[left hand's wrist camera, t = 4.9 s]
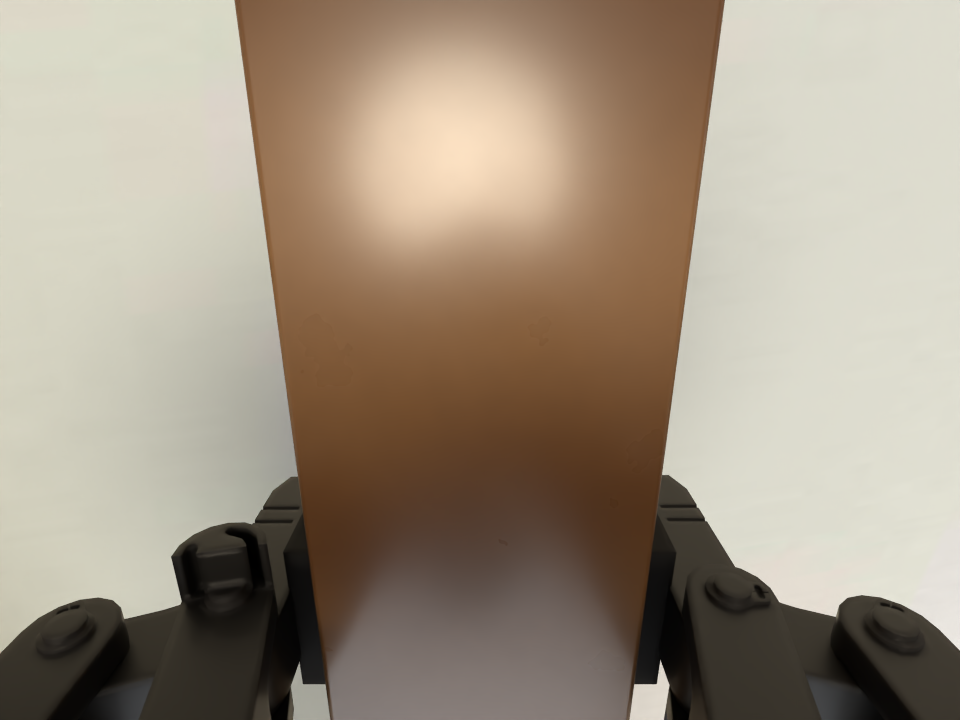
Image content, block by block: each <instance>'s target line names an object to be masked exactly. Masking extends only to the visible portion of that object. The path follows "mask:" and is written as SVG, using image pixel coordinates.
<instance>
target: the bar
mask: <svg viewBox="0 0 960 720" xmlns="http://www.w3.org/2000/svg"><path fill="white" fill-rule="evenodd" d="M724 3H725V0H235V7H236V15H237V22H238V30H239V37H240V45H241V52H242V60H243V67H244V75H245V82H246V90H247V97H248V105H249V112H250V120H251V127H252V135H253V142H254V150H255V157H256V165H257V172H258V180H259V187H260V195H261V202H262V210H263V217H264V225H265V232H266V240H267V247H268V255H269V262H270V270H271V277H272V285H273V292H274V300H275V307H276V315H277V323H278V330H279V338H280V345H281V353H282V360H283V368H284V375H285V383H286V390H287V398H288V405H289V413H290V420H291V428H292V435H293V443H294V450H295V458H296V465H297V473H298V480H299V488H300V495H301V503H302V510H303V518H304V525H305V533H306V540H307V548H308V555H309V563H310V570H311V578H312V585H313V593H314V600H315V608H316V615H317V623H318V630H319V638H320V645H321V653H322V660H323V668H324V675H325V683H326V690H327V698H328V705H329V713H330V720H629V719H630V712H631V704H632V697H633V689H634V681H635V674H636V666H637V659H638V651H639V644H640V636H641V629H642V621H643V614H644V606H645V599H646V591H647V583H648V576H649V568H650V561H651V553H652V546H653V538H654V531H655V523H656V516H657V508H658V500H659V493H660V485H661V478H662V470H663V463H664V455H665V448H666V440H667V433H668V425H669V418H670V410H671V402H672V395H673V387H674V380H675V372H676V365H677V357H678V350H679V342H680V335H681V327H682V319H683V312H684V304H685V297H686V289H687V282H688V274H689V267H690V259H691V252H692V244H693V236H694V229H695V221H696V214H697V206H698V199H699V191H700V184H701V176H702V169H703V161H704V154H705V146H706V138H707V131H708V123H709V116H710V108H711V101H712V93H713V86H714V78H715V71H716V63H717V55H718V48H719V40H720V33H721V25H722V18H723V10H724Z"/></svg>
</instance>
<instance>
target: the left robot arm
mask: <svg viewBox="0 0 960 720" xmlns="http://www.w3.org/2000/svg"><path fill="white" fill-rule="evenodd" d="M171 558H172V562H173V566H174V570H175V575H176V579H177V583H178V587H179V591H180V595H181V600H182V602H181V605H179V606H175V607H172V608H169V609H166V610H162V611H158V612H153V613H149V614H145V615H141V616H137V617H132V618H128V619H124V617H123V614H122V610H121V607H119V606H118V605H117V604H116V603H115V602H114V601H113V600H108V599H103V598H92V599H84V600H78V601H75V602H72V603H69V604H66V605H63V606H61V607H58V608H56V609H54V610H53V611H51V612H49V613H47V614H45V615H43V616H42V617H40V618H38V619H37V620H36V621H34V622H33V623H32V624H31V625H30V626H28V627H27V628H26V629H25V630H23V631H22V632H21V633H20V634H19V635H18V636H17V637H16V638H15V639H14V640H13V641H12V642H11V643H10V644H9V645H8V646H7V647H6V648H5V649H4V650H3V651H2V652H1V653H0V720H293V712H294V706H293V699H292V692H291V684H292V681H293V678H294V675H295V672H296V670H297V667H298V664H299V661H300V667H301V674H302V680H303V684H326V683H325V675H324V668H323V660H322V653H321V645H320V638H319V630H318V623H317V615H316V608H315V600H314V593H313V585H312V578H311V570H310V563H309V555H308V548H307V540H306V533H305V525H304V518H303V510H302V503H301V495H300V488H299V480H298V477H290V478H289V479H288V480H286V481H285V482H284V483H283V484H281V485H280V486H279V487H277V488H276V489H275V490H273V492H272V493H271V495H270V497H269V498H268V500H267V501H266V503H265V505H264V506H263V510H261V511H260V513H259V514H258V516H257V518H256V519H255V523H253V524H248V523H226V524H222V525H217V526H213V527H210V528H208V529H205V530H203V531H201V532H199V533H196V534H194V535H193V536H191V537H190V538H189V539H187V540H186V541H185V542H183V543H182V544H181V545H179V547H178V548H177V550H176V551H175V552H174V554H173V555H172V556H171ZM660 660H661V662H662V665H663V668H664V671H665V674H666V676H667V679H668V682H669V685H670V686H669V692H668V698H667V704H666V710H665V716H664V720H960V650H959V649H958V648H957V647H956V646H955V645H954V644H953V643H952V642H951V641H950V640H949V639H948V638H947V637H946V636H945V635H944V634H943V633H942V632H941V631H940V630H939V629H938V628H936V627H935V626H934V625H933V624H931V623H930V622H929V621H928V620H926V619H925V618H924V617H923V616H921V615H919V614H918V613H916V612H914V611H912V610H910V609H908V608H907V607H905V606H903V605H901V604H898V603H895V602H892V601H889V600H886V599H883V598H880V597H871V596H863V595H861V596H855V597H850V598H847V599H846V600H845V601H844V602H843V603H841V604H840V605H839V608H838V612H837V615H836V617H833V616H829V615H824V614H820V613H816V612H812V611H807V610H803V609H799V608H795V607H792V606H789V605H785V604H782V603H780V602H779V601H778V600H777V598H776V596H775V595H774V593H773V592H772V590H771V588H770V587H768V586H767V585H766V584H765V583H764V582H762V581H761V580H760V579H759V578H758V577H756V576H754V575H752V574H750V573H748V572H746V571H744V570H742V569H740V568H736V567H735V566H734V564H733V563H732V561H731V560H730V558H729V556H728V555H727V553H726V552H725V550H724V548H723V547H722V545H721V543H720V542H719V540H718V539H717V537H716V535H715V534H714V532H713V531H712V529H711V527H710V526H709V524H708V522H707V521H705V518H704V516H703V514H702V513H701V511H700V510H699V508H697V505H696V503H695V501H694V500H693V498H692V497H691V495H690V493H689V492H688V490H687V489H686V488H685V487H684V486H682V485H681V484H680V483H678V482H677V481H676V480H674V479H673V478H672V477H670V476H669V475H662V478H661V485H660V493H659V500H658V508H657V516H656V523H655V531H654V538H653V546H652V553H651V561H650V568H649V576H648V583H647V591H646V599H645V606H644V614H643V621H642V629H641V636H640V644H639V651H638V659H637V666H636V674H635V681H634V684H657V678H658V671H659V665H660Z"/></svg>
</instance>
